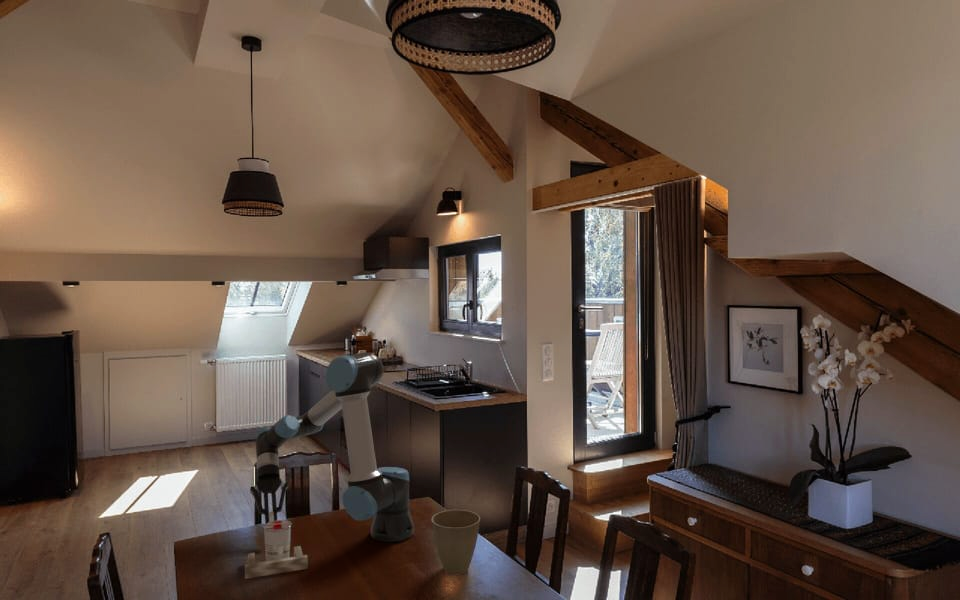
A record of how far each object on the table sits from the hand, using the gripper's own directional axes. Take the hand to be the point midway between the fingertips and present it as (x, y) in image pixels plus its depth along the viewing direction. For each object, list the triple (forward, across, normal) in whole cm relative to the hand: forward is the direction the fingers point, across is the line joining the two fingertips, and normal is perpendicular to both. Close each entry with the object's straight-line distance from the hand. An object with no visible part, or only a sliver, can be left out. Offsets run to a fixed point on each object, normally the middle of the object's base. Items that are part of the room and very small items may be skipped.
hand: (271, 531), depth 206 cm
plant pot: (+32, -51, +24) cm, 64 cm away
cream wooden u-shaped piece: (+14, 0, +7) cm, 16 cm away
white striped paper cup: (+13, -1, +6) cm, 14 cm away
